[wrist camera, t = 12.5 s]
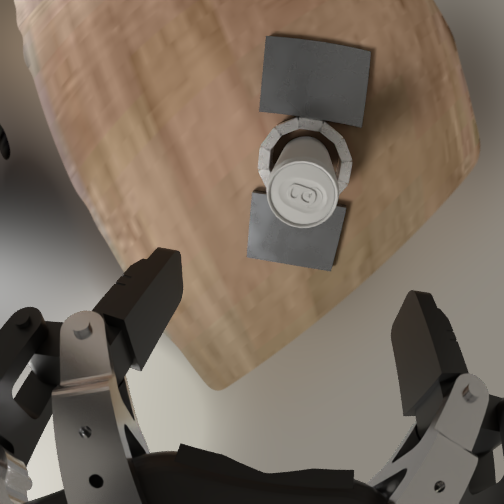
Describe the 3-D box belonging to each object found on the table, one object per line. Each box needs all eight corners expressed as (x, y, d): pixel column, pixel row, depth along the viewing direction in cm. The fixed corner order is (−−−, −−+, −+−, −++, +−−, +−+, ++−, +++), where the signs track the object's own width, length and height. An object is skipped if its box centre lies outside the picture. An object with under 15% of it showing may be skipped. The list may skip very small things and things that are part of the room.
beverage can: (320, 186, 29) (325, 239, 19) (276, 172, 29) (256, 217, 19) (335, 144, 27) (351, 173, 16) (289, 128, 27) (276, 148, 17)
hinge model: (267, 37, 22) (262, 31, 20) (369, 52, 21) (375, 48, 18) (248, 253, 35) (242, 267, 32) (330, 267, 34) (331, 282, 31)
